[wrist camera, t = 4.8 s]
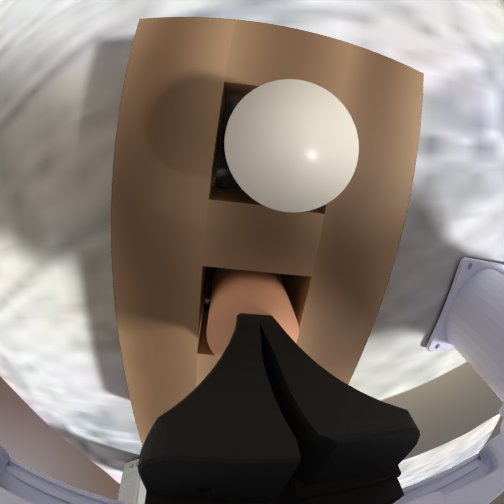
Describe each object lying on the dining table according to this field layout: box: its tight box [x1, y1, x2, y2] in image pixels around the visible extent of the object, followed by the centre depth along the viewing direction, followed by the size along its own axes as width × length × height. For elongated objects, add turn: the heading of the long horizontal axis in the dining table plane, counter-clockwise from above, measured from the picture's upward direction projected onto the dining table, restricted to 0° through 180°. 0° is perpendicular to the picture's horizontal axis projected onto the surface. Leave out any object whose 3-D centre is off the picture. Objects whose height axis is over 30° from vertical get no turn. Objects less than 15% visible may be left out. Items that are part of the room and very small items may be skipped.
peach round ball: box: [207, 268, 299, 359], centre depth 13 cm, size 4×4×4 cm
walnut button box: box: [111, 17, 424, 446], centre depth 14 cm, size 12×24×4 cm, turn 172°
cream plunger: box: [224, 79, 359, 213], centre depth 9 cm, size 4×4×4 cm
